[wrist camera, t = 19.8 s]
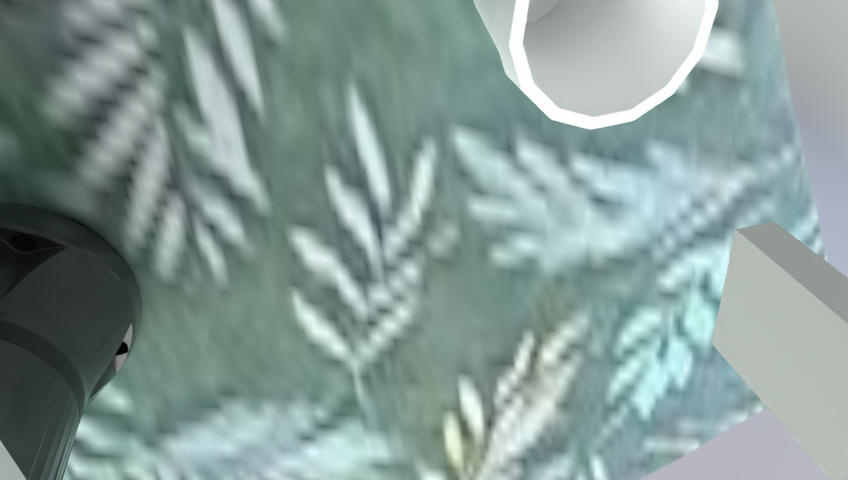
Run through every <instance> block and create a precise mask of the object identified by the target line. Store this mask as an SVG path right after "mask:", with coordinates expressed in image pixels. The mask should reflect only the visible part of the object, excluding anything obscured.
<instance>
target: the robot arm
mask: <svg viewBox="0 0 848 480" xmlns="http://www.w3.org/2000/svg"><path fill="white" fill-rule="evenodd" d="M140 319H141V298H140V293H139V290H138V286H137V284H136V281H135V279H134V277H133V275H132V273H131V271H130V270H129V268H128V266H127V265H126V263H125V262H124V261H123V259H122V258H121V257H120V256H119V255H118V254H117V252H116V251H115V250H114V249H113V248H112V247H110V246H109V245H108V244H107V243H106V242H105V241H104V240H102V239H101V238H100V237H98V236H97V235H96V234H94V233H93V232H91V231H90V230H88V229H86V228H85V227H83V226H81V225H79V224H77V223H75V222H73V221H71V220H69V219H67V218H64V217H62V216H59V215H57V214H54V213H51V212H48V211H45V210H41V209H37V208H33V207H28V206H23V205H15V204H5V203H0V480H62V479H63V475H64V472H65V469H66V465H67V462H68V459H69V456H70V452H71V449H72V446H73V442H74V439H75V436H76V432H77V429H78V425H79V422H80V419H81V416H82V413H83V411H84V410H85V409H86V408H87V407H88V405H89V404H90V403H91V402H92V401H93V400H94V399H95V397H96V396H97V395H98V394H99V393H100V392H101V391H102V390H103V388H104V387H105V386H106V385H107V384H108V383H109V382H110V380H111V379H112V378H113V377H114V376H115V375H116V374H117V372H118V371H119V370H120V369H121V367H122V366H123V365H124V363H125V362H126V360H127V358H128V356H129V354H130V352H131V350H132V348H133V345H134V342H135V338H136V335H137V331H138V327H139V324H140ZM712 345H713V346H714V347H715V348H716V349H717V350H718V351H719V353H720V354H721V355H722V356H723V357H724V358H725V359H726V361H727V362H728V363H729V364H730V365H731V366H732V367H733V369H734V370H735V371H736V372H737V373H738V374H739V376H740V377H741V378H742V379H743V380H744V381H745V382H746V384H747V385H748V386H749V387H750V388H751V389H752V390H753V392H754V393H755V394H756V395H757V396H758V397H759V398H760V400H761V401H762V402H763V403H764V404H765V405H766V407H767V408H768V409H769V410H770V411H771V412H772V413H773V414H774V416H775V417H776V418H777V419H778V420H779V421H780V423H782V425H783V426H784V427H785V428H786V429H787V431H788V432H789V433H790V434H791V435H792V436H793V437H794V439H795V440H796V441H797V442H798V443H799V444H800V445H801V447H802V448H803V449H804V450H805V451H806V452H807V454H808V455H809V456H810V457H811V458H812V459H813V460H814V462H815V463H816V464H817V465H818V466H819V467H820V468H821V470H822V471H823V472H824V473H825V474H826V475H827V477H828V478H829V479H830V480H848V278H847V277H846V276H844V275H843V274H842V273H841V272H839V271H838V270H837V269H835V268H834V267H833V266H831V265H830V264H829V263H827V262H826V261H825V260H824V259H822V258H821V257H820V256H818V255H817V254H816V253H814V252H813V251H812V250H811V249H809V248H808V247H807V246H805V245H804V244H803V243H801V242H800V241H799V240H797V239H796V238H795V237H794V236H792V235H791V234H790V233H788V232H787V231H786V230H784V229H783V228H782V227H780V226H779V225H778V224H777V223H775V222H772V223H767V224H762V225H757V226H752V227H746V228H741V229H736V232H735V237H734V241H733V246H732V251H731V256H730V260H729V265H728V270H727V274H726V279H725V284H724V289H723V293H722V298H721V303H720V308H719V312H718V317H717V322H716V327H715V331H714V336H713V341H712Z"/></svg>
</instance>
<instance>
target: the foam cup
mask: <svg viewBox="0 0 848 480" xmlns="http://www.w3.org/2000/svg"><path fill="white" fill-rule="evenodd" d="M473 1H474V4H475V6H476V8H477V10H478V12H479V14H480V16H481V18H482V20H483V22H484V24H485V26H486V28H487V30H488V32H489V33H490V35H491V37H492V39H493V41H494V43H495V45H496V47H497V49H498V51H499V54H500V57H501V60H502V63H503V67H504V70H505V73H506V75H507V76H508V77H509V78H510V79H511V80H512V81H513V82H514V83H515V84H516V85H517V86H518V87H519V88H520V89H521V90H522V91H523V92H524V93H525V94H526V95H527V96H528V97H529V98H530V99H531V100H532V101H533V102H534V103H535V104H536V105H537V106H538V107H539V108H540V109H541V110H542V111H543V112H544V113H545V114H546V115H547V116H548V117H549V118H550V119H551V120H555V121H559V122H563V123H567V124H570V125H574V126H578V127H582V128H586V129H590V130H592V129H596V128H601V127H606V126H611V125H615V124H620V123H625V122H630V121H634V120H635V119H637V118H638V117H640V116H641V115H643V114H644V113H646V112H647V111H649V110H650V109H652V108H653V107H655V106H656V105H658V104H659V103H661V102H662V101H664V100H665V99H667V98H668V97H670V96H671V95H673V94H674V92H675V91H676V90H677V88H678V87H679V86H680V84H681V83H682V82H683V80H684V79H685V78H686V76H687V75H688V74H689V72H690V71H691V70H692V68H693V67H694V66H695V64H696V63H697V62H698V60H699V59H700V58H701V56H702V55H703V53H704V50H705V47H706V44H707V40H708V37H709V34H710V31H711V28H712V24H713V21H714V18H715V15H716V12H717V8H718V0H473Z"/></svg>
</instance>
